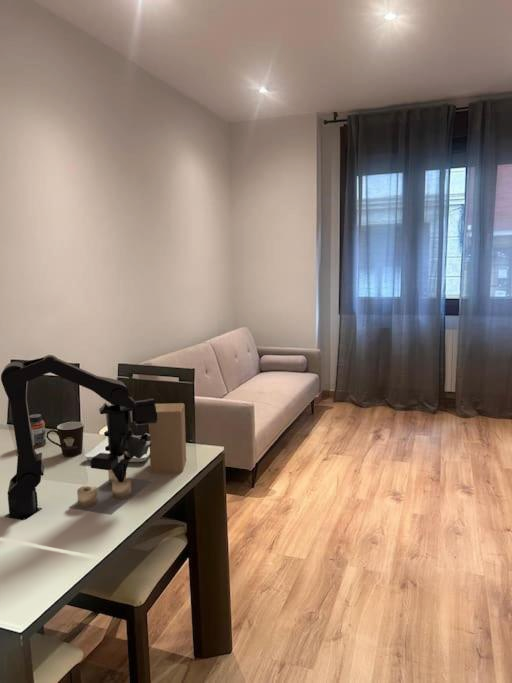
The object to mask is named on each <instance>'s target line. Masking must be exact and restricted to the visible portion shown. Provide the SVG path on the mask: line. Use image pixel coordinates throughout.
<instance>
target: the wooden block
mask: <svg viewBox="0 0 512 683" xmlns="http://www.w3.org/2000/svg"><path fill="white" fill-rule="evenodd" d="M155 406H156V412H157V423H150V424H148V434H149V435H150V437H151V444H152V445H151V446H150V455H149V461H150V462H149V463H150V464H149V465H150V473H151V474H168V473H170V474H171V473H172V474H173V473H183V472H184V470H185V467H186V462H187V442H186V440H187V439H186V416H185V415H186V412H185V411H186V410H185V407H186V406H185V403H183V402H179V403H178V402H177V403H169V402H168V403H155Z"/></svg>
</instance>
